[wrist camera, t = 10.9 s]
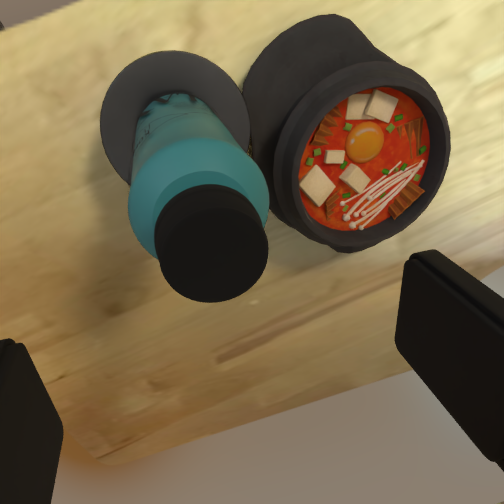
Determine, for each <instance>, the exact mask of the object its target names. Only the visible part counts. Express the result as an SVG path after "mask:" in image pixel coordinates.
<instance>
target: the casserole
mask: <svg viewBox="0 0 504 504" xmlns="http://www.w3.org/2000/svg"><path fill="white" fill-rule="evenodd" d="M242 95H243V98H244V100H245V103H246V105H247V109H248V113H249V118H250V132H251V134H250V136H251V142H252V155H253V161H254V162H255V163H256V164H257V166H258V167H259V169H260V170H261V172H262V174H263V176H264V178H265V181H266V184H267V187H268V192H269V209H270V210H271V211H272V212H273V213H274V215H275V216H276V217H277V218H278V219H280V220H281V221H283V222H284V223H285V224H287V225H288V226H290V227H292V228H294V229H296V230H297V231H299V232H300V233H302V234H303V235H304V236H306V237H307V238H309V239H311V240H314V241H316V242H318V243H321V244H325V245H328V246H329V247H331V248H332V249H334V250H335V251H337V252H342V253H353V252H358V251H362V250H364V249H367V248H369V247H372V246H374V245H376V244H378V243H379V242H381V241H383V240H385V239H388V238H390V237H392V236H394V235H395V234H397V233H399V232H400V231H402V230H404V229H405V228H406V227H407V226H409V225H410V224H411V223H412V222H414V221H415V220H416V219H417V218H418V217H419V216H420V215H421V213H422V212H423V211H424V210H425V209H426V208H427V207H428V205H429V204H430V202H431V201H432V200H433V198H434V197H435V195H436V193H437V191H438V189H439V187H440V185H441V183H442V181H443V179H444V176H445V173H446V170H447V167H448V162H449V156H450V150H451V144H450V130H449V125H448V121H447V117H446V115H445V113H444V111H443V107H442V105H441V103H440V101H439V99H438V97H437V94H436V92H435V91H434V90H433V88H432V87H431V86H430V85H429V84H428V82H427V81H426V80H425V79H424V78H423V77H421V76H420V75H419V74H417V73H416V72H415V71H413V70H412V69H410V68H407V67H405V66H402V65H400V64H398V63H397V62H395V61H394V60H393V59H391V58H390V57H388V56H387V55H386V54H384V53H383V52H381V51H380V50H378V49H377V48H375V47H374V46H373V44H372V43H371V42H370V41H369V40H368V39H367V37H366V36H365V35H364V34H363V33H362V32H361V31H360V30H359V28H358V27H357V26H356V25H355V24H354V23H353V22H352V21H351V20H350V19H348V18H345V17H342V16H339V15H336V14H329V15H318V16H315V17H312V18H310V19H307V20H304V21H301V22H299V23H297V24H295V25H294V26H292V27H291V28H289V29H287V30H286V31H284V32H282V33H281V34H280V35H279V36H277V37H276V38H275V39H274V40H273V41H272V42H271V43H270V44H269V45H268V46H267V47H266V48H265V49H264V50H263V51H262V53H261V54H260V55H259V57H258V58H257V59H256V61H255V62H254V63H253V65H252V66H251V68H250V70H249V73H248V75H247V77H246V79H245V81H244V83H243V91H242Z"/></svg>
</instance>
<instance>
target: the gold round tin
mask: <svg viewBox="0 0 504 504" xmlns="http://www.w3.org/2000/svg"><path fill="white" fill-rule="evenodd" d="M177 91H179V92H180V93H182V94H187V93H188V94H189V95H191V94H192V95H193V96H194V97H195V96H196V95H197V96H196V98H198V99H200V100H201V101H203V102H204V103H205V104H206V105H207V104H208V106H209V107H210V109H211V110H212V107H213V109H214V110H215V111H216V112H217V113H218V114H217V113H216V112H215V111H214V110H212V111H213V112H214V113H216V114H217V117H218V118H219V117H220V118H219V120H220V119H221V120H220V121H221V122H222V123H223V124H224V126H225V127H226V128H227V129H228V131H229V132H230V133H231V135H232V136H233V138H234V139H235V141H236V142H237V143H238V144H239V146H240V147H241V148H242V149H243V151H244V152H245V153H246V154H247V151H248V147H249V143H250V134H251V132H250V118H249V113H248V109H247V105H246V103H245V100H244V98H243V95H242V94H241V92H240V90H239V88H238V87H237V85H236V84H235V83H234V81H233V80H232V79H231V78H230V77H229V76H228V74H227V73H226V72H225V71H224V70H222V69H221V68H220V67H218V66H217V65H216V64H214V63H213V62H211V61H209V60H207V59H205V58H203V57H201V56H198V55H196V54H192V53H188V52H184V51H175V50H174V51H159V52H153V53H150V54H147V55H145V56H143V57H141V58H139V59H137V60H135V61H133V62H132V63H131V64H129V65H128V66H126V67H125V68H124V69H123V70H122V71H121V72H120V73H119V74H118V76H117V77H116V78H115V79H114V81H113V82H112V84H111V85H110V87H109V89H108V91H107V93H106V96H105V98H104V101H103V104H102V109H101V115H100V132H101V138H102V143H103V146H104V149H105V152H106V155H107V157H108V159H109V161H110V163H111V164H112V166H113V167H114V169H115V170H116V172H117V173H118V174H119V175H120V177H121V178H122V179H123V180H124V181H125V182H127V183H128V180H131V177H132V167H133V165H132V164H133V157H134V156H133V157H132V154H133V151H134V148H133V149H131V148H132V142H133V147H134V146H135V138H134V137H135V135H136V128H137V125H136V124H138V121H139V119H138V120H137V118H138V117H139V116H140V115H139V113H140V114H141V111H142V113H143V111H144V110H145V109H146V107H147V106H148V105H149V104H151V103H152V102H153V101H154V100H156V99H158V98H160V97H162V96H165V95H169V94H176V93H177ZM188 94H187V95H188ZM159 95H160V96H159ZM161 95H162V96H161ZM157 96H158V97H157ZM198 96H199V97H201V98H199V97H198ZM155 97H156V99H155ZM152 99H153V101H152ZM203 99H204V100H203ZM148 102H150V103H149V104H147V103H148ZM207 102H208V103H207ZM209 104H210V105H209ZM146 105H147V106H146ZM144 106H146V107H145V108H144ZM216 114H215V115H216ZM218 115H219V116H218ZM136 120H137V121H136ZM222 120H223V121H224V122H223V121H222ZM135 122H136V123H135ZM227 126H228V127H229V128H228V127H227ZM134 130H135V132H134ZM232 131H233V133H234V134H233V133H232ZM134 134H135V135H134ZM133 139H134V140H133ZM236 139H237V140H236ZM132 150H133V151H132ZM131 151H132V152H131ZM131 153H132V154H131ZM131 157H132V160H130V159H131ZM130 167H131V168H130ZM130 170H131V172H129V171H130ZM129 174H130V176H129V177H130V178H129V177H128V175H129ZM130 182H131V181H129V183H128V184H129V185H131V184H130Z"/></svg>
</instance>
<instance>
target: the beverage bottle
mask: <svg viewBox="0 0 504 504" xmlns="http://www.w3.org/2000/svg"><path fill="white" fill-rule="evenodd" d="M187 94H188V93H187ZM187 94H182V93H180V92H179V91H177V93H176V94H169V95H165V96H162V95H161V96H162V97H160V98H158V99H156V97H155V99H156V100H154V101H153V99H152V101H153V102H152V103H151V104H149V103H150V102H148V103H147V104H149V105H148V106H147V105H146V106H147V107H146V106H144V108H145V107H146V109H145V110H144V111H143V113H142V111H141V114H140V113H139V115H140V116H139V117H138V118H137V120H138V119H139V121H138V124H136V125H137V128H136V135H135V134H134V135H135V137H134V138H135V146H134V147H133V142H132V148H131V149H133V148H134V151H133V150H132V151H133V154H132V153H131V154H132V157H133V156H134V157H133V164H132V165H133V167H132V177H131V180H128V183H129V181H131V182H130V184H131V185H130V186H131V187H130V192H129V197H128V215H129V220H130V224H131V227H132V229H133V232H134V234H135V236H136V237H137V239H138V241H139V242H140V243H141V245H142V246H143V247H144V248H145V249H146V250H147V251H148V252H149V253H150V254H151V255H152V256H153V257H155V258H156V259H158V260H159V263H160V267H161V271H162V273H163V276H164V277H165V279H166V281H167V282H168V283H169V284H170V286H171V287H172V288H173V289H174V290H175V291H176V292H178V293H179V294H181V295H182V296H184V297H186V298H189V299H191V300H194V301H199V302H207V303H213V302H222V301H226V300H230V299H232V298H235V297H237V296H239V295H241V294H243V293H244V292H246V291H247V290H249V289H250V288H251V287H252V286H253V285H254V284H255V283H256V282H257V281H258V279H259V278H260V276H261V275H262V273H263V271H264V269H265V267H266V264H267V259H268V250H269V248H268V240H267V236H266V234H265V231H264V226H265V224H266V220H267V217H268V212H269V192H268V187H267V184H266V181H265V178H264V176H263V174H262V172H261V170H260V169H259V167H258V166H257V164H256V163H255V162H254V161H253V160H252V158H251V157H250V156H249V155H248V154H246V153H245V152H244V151H243V149H242V148H241V147H240V146H239V144H238V143H237V142H236V141H235V139H234V138H233V136H232V135H231V133H230V132H229V131H228V129H227V128H226V127H225V126H224V124H223V123H222V122H221V121H220V120H221V119H220V120H219V118H220V117H219V118H218V117H217V114H218V113H217V112H216V111H215V110H214V109H213V107H212V110H214V111H215V112H216V113H217V114H216V113H214V112H213V111H212V110H211V109H210V107H209V106H208V104H207V105H206V104H205V103H204V102H203V101H201V100H200V99H198V98H196V96H197V95H196V96H195V97H194V96H193V95H192V94H191V95H189V94H188V95H187ZM159 96H160V95H159ZM157 97H158V96H157ZM198 97H199V96H198ZM199 98H201V97H199ZM203 100H204V99H203ZM207 103H208V102H207ZM209 105H210V104H209ZM215 114H216V115H215ZM218 116H219V115H218ZM137 120H136V121H137ZM222 121H223V120H222ZM223 122H224V121H223ZM135 123H136V122H135ZM227 127H228V126H227ZM228 128H229V127H228ZM134 132H135V130H134ZM232 133H233V131H232ZM233 134H234V133H233ZM133 140H134V139H133ZM236 140H237V139H236ZM132 151H131V152H132ZM132 157H131V159H130V160H132ZM130 168H131V167H130ZM129 172H131V170H130V171H129ZM129 176H130V174H129V175H128V177H129ZM129 178H130V177H129Z"/></svg>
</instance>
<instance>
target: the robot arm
mask: <svg viewBox="0 0 504 504" xmlns="http://www.w3.org/2000/svg"><path fill="white" fill-rule="evenodd" d="M395 344H396V347H397V349H398V351H399V352H400V354H401V355H402V356H403V357H404V358H405V360H406V361H407V362H408V363H409V365H410V366H411V367H412V368H413V369H414V371H415V372H416V373H417V374H418V376H420V378H421V379H422V380H423V382H424V383H425V384H426V385H427V386H428V388H429V389H430V390H431V391H432V393H433V394H434V395H435V396H436V397H437V399H438V400H439V401H440V402H441V404H442V405H443V406H444V407H445V408H446V410H447V411H448V412H449V413H450V415H451V416H452V417H453V418H454V419H455V421H456V422H457V423H458V424H459V426H461V428H462V429H463V430H464V432H465V433H466V434H467V435H468V437H469V438H470V439H471V440H472V441H473V443H474V444H475V445H476V446H477V447H478V449H479V450H480V451H481V452H482V454H483V455H484V456H485V457H486V458H487V459H488V460H490V461H493V462H496V463H497V464H498V466H499V467H500V468H501V469H502V470H503V471H504V298H502V297H501V296H500V295H498V294H497V293H495V292H494V291H493V290H491V289H490V288H488V287H487V286H486V285H484V284H483V283H482V282H480V281H479V280H477V279H476V278H475V277H473V276H472V275H471V274H469V273H468V272H466V271H465V270H464V269H462V268H461V267H460V266H458V265H457V264H455V263H454V262H453V261H451V260H450V259H448V258H447V257H446V256H444V255H443V254H442V253H440V252H439V251H437V250H427V251H422V252H418V253H413V254H412V255H411V256H410V257H409V260H407V261H406V262H405V264H404V270H403V278H402V286H401V293H400V301H399V309H398V316H397V324H396V332H395ZM62 441H63V425H62V421H61V419H60V417H59V415H58V413H57V411H56V409H55V407H54V405H53V403H52V401H51V398H50V396H49V394H48V392H47V390H46V388H45V386H44V384H43V382H42V380H41V378H40V376H39V374H38V372H37V370H36V368H35V366H34V364H33V361H32V359H31V357H30V355H29V353H28V351H27V349H26V347H25V346H24V344H23V343H15V341H14V340H12V339H9V338H8V339H3V340H0V504H51V499H52V493H53V489H54V483H55V477H56V473H57V467H58V462H59V456H60V451H61V446H62ZM498 504H504V502H501V503H498Z"/></svg>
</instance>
